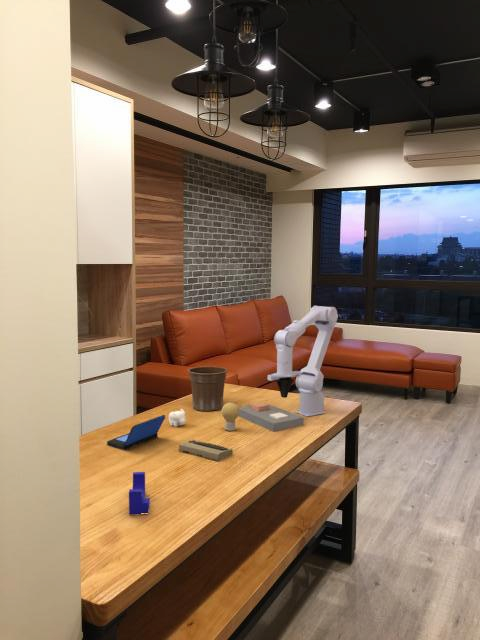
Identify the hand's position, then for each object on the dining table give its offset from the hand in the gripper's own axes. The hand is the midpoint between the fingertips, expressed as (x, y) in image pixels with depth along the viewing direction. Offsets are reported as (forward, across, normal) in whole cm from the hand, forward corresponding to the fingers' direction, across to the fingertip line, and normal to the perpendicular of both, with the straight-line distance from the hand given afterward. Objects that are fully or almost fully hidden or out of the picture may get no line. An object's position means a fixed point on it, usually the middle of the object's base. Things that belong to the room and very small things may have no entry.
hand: (284, 397), depth 203 cm
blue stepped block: (+10, -74, -35) cm, 82 cm away
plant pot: (+10, -15, +32) cm, 37 cm away
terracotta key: (+8, -4, +10) cm, 13 cm away
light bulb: (+10, -23, +2) cm, 25 cm away
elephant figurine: (+10, -37, +17) cm, 42 cm away
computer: (+10, -42, -13) cm, 45 cm away
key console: (+9, -4, +4) cm, 11 cm away
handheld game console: (+10, -57, +8) cm, 58 cm away
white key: (+9, -4, -2) cm, 10 cm away
